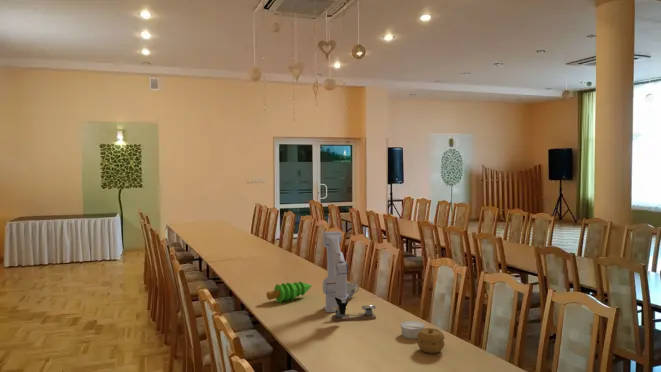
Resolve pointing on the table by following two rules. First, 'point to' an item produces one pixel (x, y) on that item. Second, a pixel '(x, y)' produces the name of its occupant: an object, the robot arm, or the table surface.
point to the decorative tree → (288, 291)
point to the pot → (430, 340)
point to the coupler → (339, 312)
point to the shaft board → (354, 317)
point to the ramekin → (411, 329)
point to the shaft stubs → (367, 309)
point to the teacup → (351, 289)
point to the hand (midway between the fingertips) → (341, 312)
